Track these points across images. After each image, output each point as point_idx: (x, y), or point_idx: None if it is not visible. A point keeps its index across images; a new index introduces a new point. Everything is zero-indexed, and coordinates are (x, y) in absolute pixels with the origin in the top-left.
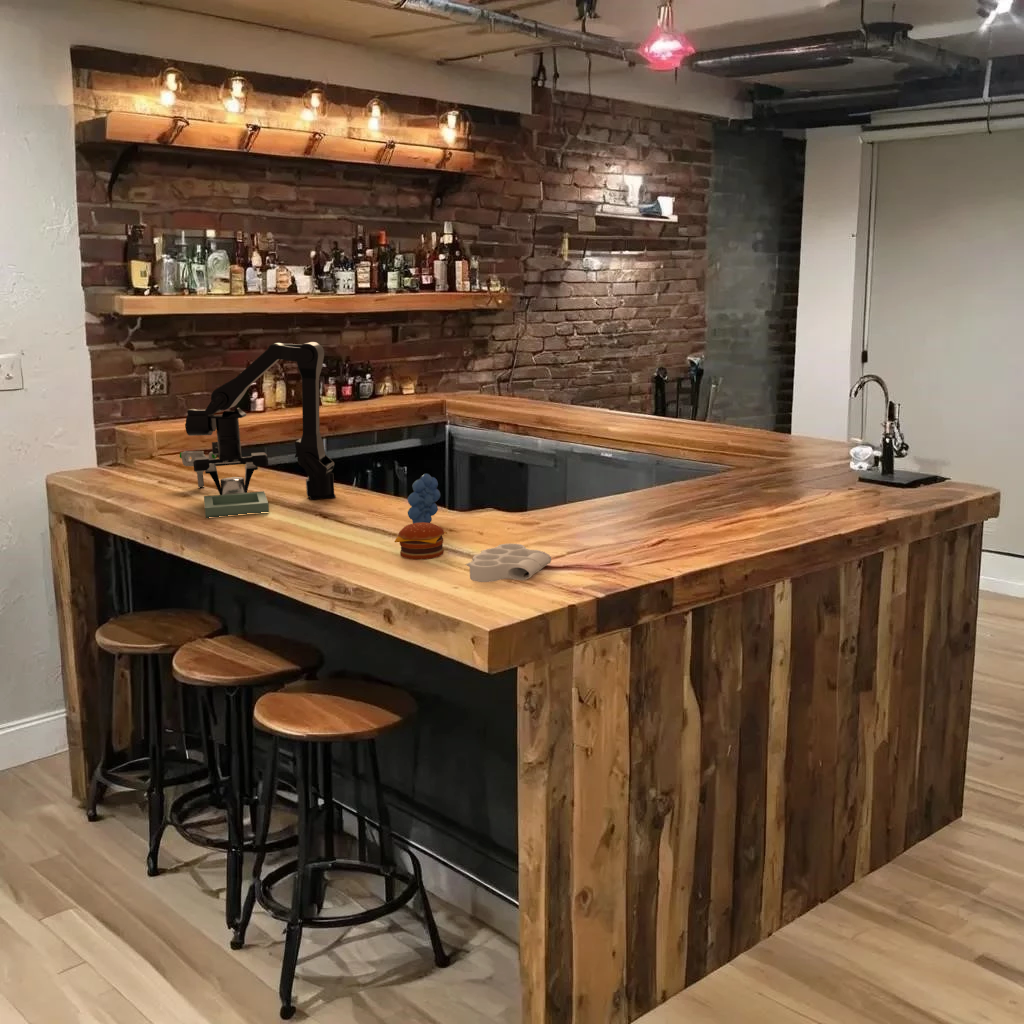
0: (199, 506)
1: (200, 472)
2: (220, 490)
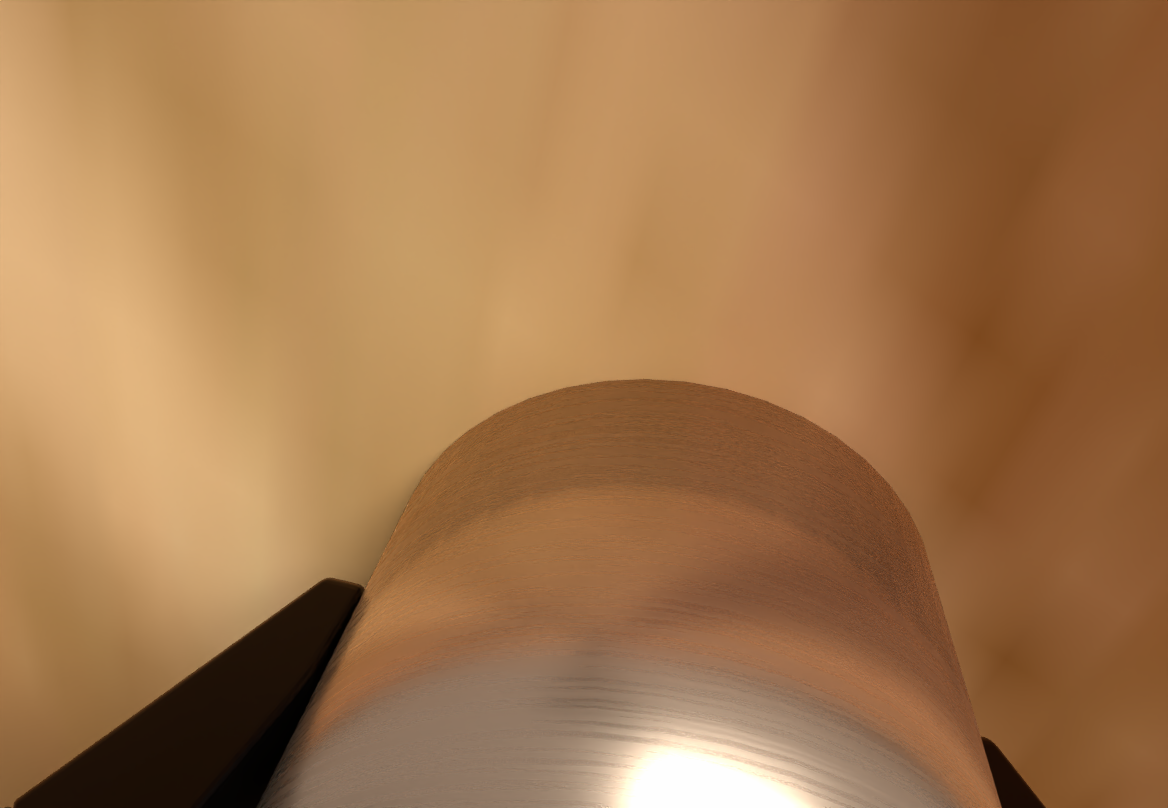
0: (3, 794)
1: None
2: None
